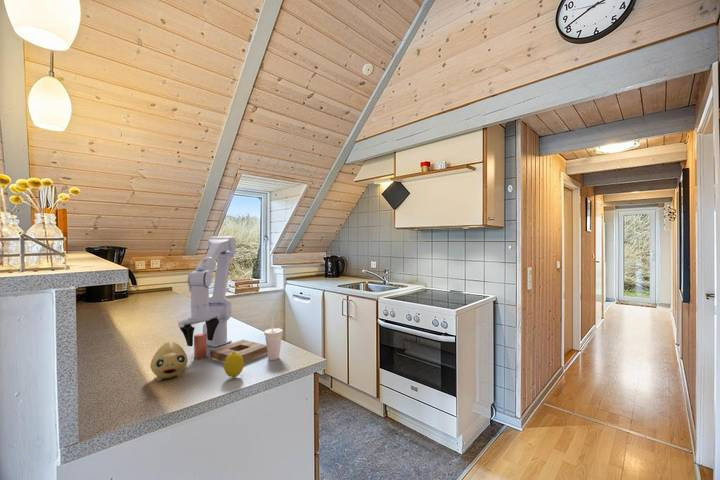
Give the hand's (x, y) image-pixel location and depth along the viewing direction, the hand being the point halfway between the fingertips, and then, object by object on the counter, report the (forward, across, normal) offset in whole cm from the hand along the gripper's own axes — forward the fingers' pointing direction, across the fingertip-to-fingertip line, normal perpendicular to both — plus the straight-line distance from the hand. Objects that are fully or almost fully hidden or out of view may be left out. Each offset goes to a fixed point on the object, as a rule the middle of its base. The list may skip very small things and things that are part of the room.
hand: (200, 342), depth 116 cm
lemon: (+6, -5, -25) cm, 26 cm away
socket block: (+5, +8, -11) cm, 15 cm away
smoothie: (+6, +13, -23) cm, 27 cm away
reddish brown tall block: (+5, 0, 0) cm, 5 cm away
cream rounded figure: (+6, -15, -8) cm, 18 cm away
